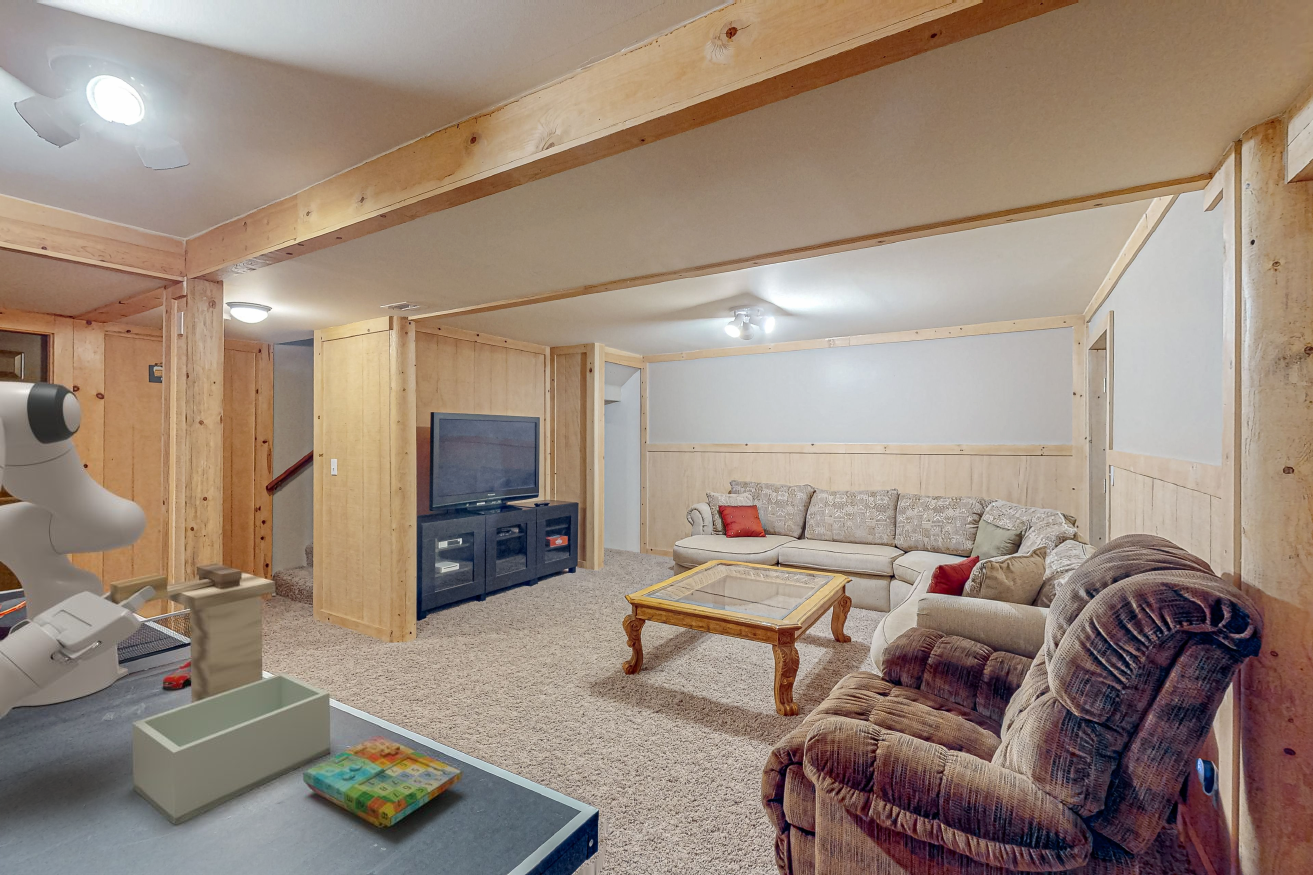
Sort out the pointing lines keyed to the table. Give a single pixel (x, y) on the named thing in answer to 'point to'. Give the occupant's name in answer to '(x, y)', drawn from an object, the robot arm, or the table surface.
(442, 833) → the table surface
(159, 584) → the tan wooden bar
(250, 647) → the stand
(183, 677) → the race car
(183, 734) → the bin
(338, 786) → the puzzle game
